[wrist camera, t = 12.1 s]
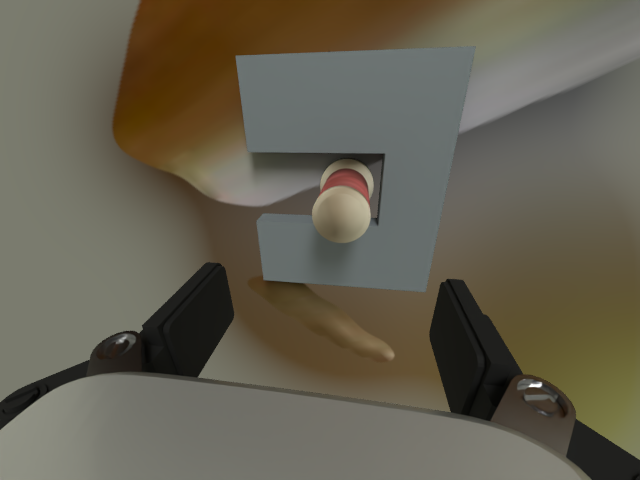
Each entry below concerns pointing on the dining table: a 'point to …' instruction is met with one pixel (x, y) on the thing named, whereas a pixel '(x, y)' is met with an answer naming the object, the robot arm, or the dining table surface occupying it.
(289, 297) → the dining table surface
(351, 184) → the bobbin
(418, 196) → the notched board
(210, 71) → the dining table surface
